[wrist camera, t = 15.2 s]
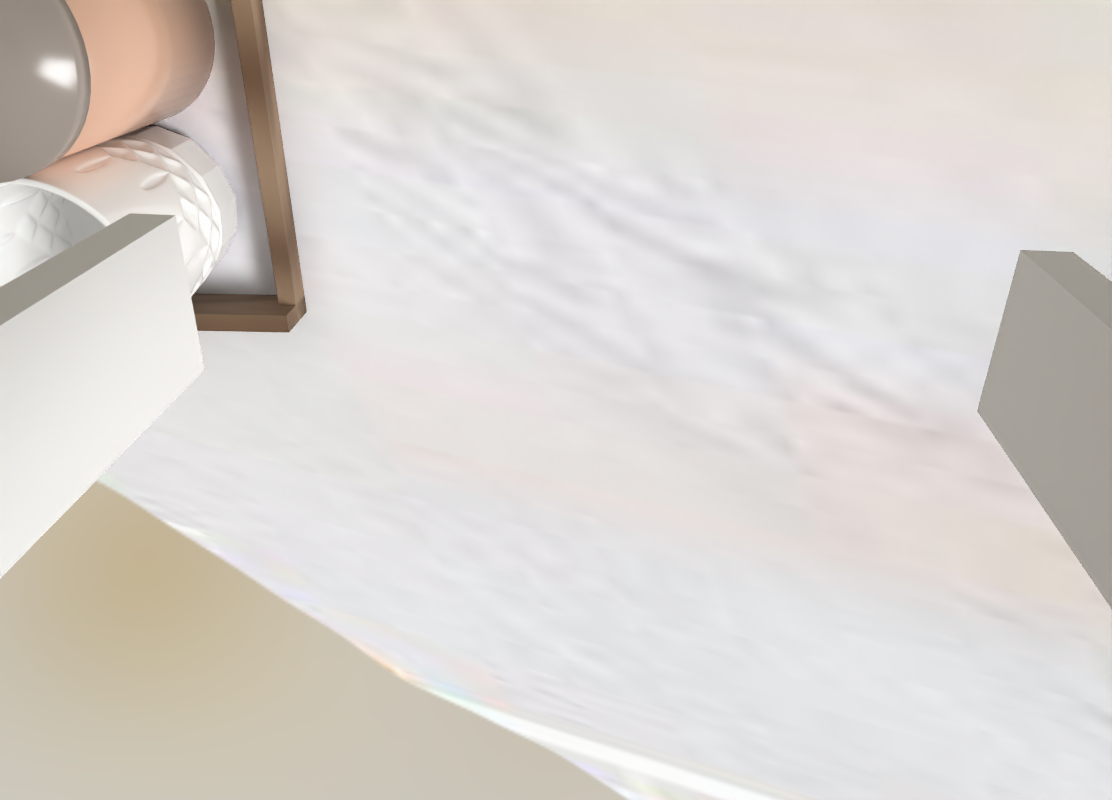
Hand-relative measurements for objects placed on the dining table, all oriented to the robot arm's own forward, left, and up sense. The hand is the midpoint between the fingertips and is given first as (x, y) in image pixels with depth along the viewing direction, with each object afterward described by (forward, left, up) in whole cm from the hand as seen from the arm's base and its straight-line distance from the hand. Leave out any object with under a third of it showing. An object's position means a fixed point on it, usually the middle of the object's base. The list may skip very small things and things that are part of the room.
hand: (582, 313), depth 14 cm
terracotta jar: (-2, -20, -25) cm, 32 cm away
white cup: (+5, -20, -26) cm, 33 cm away
